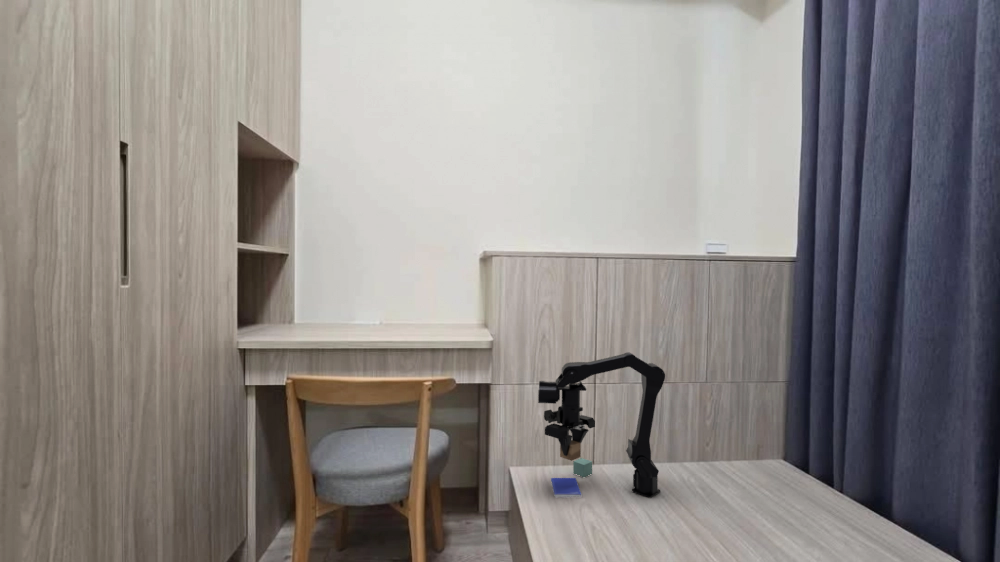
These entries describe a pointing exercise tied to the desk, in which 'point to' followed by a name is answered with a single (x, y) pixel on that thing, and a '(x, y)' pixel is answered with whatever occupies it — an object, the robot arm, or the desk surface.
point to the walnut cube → (572, 451)
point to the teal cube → (582, 467)
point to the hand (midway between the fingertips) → (570, 453)
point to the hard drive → (565, 487)
